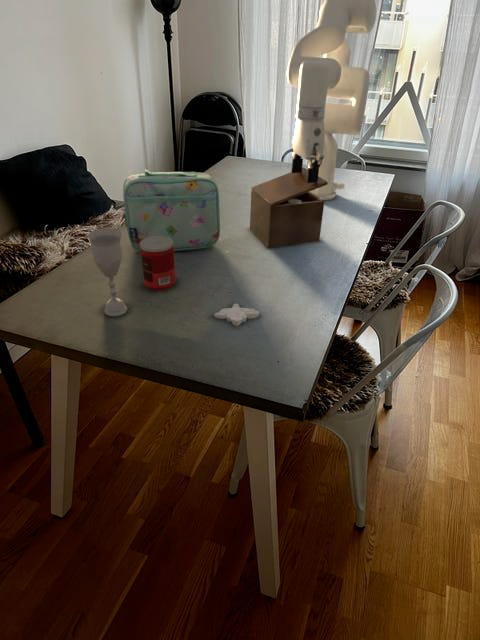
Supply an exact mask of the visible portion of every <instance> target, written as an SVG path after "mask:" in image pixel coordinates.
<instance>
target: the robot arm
mask: <svg viewBox="0 0 480 640" xmlns="http://www.w3.org/2000/svg"><path fill="white" fill-rule="evenodd" d="M377 11H378V10H377V4H376V1H375V0H324V1H323V3H322V4H321V6H320V8H319V15H318V21H317V24H316V27H315V28H313V29H312V30H310V31H309V32H308V33H306V34H305V35H304V36H302V37H301V38H300V39H299V40H298V41H297V42H296V44H295V45H294V47H293V49H292V51H291V55H290V57H289V61H288V65H287V70H286V77H287V78H286V79H287V82H288V84H289V85H290V86H292V87H294V88H298V91H297V103H296V113H295V119H296V121H295V126H294V133H293V139H292V140H291V153H292V154H291V158H292V161H291V171H290V172H292V173H301V172H302V168H303V164H304V159H305V160H306V161H307V162H308V168H307V170H308V172H307V183H315V182H317V181H318V176H319V177H320V178H322V179H324V180H325V181H327V183H328V184H327V185H325V186H322V187H320V188H317V189H315V190H312V191H310V192H312V193H313V194H315V195H316V196H317V197H319V198H320V199H322V200H323V201H328V200H329V201H330V200H332V199H335V198H336V196H337V192H336V191H337V190H344V189H345V184H344V183H338V182H334V179H335V173H336V164H337V157H338V150H339V146H338V145H339V144H338V142H337V140H336V138H335V137H334V134H337V135H347V136H355V135H358V134H359V133H360V132H361V131H362V128H363V125H364V124H363V123H364V119H365V113H366V106H367V100H368V94H369V87H370V73H369V71H368V70H367V69H366V68H363V67H359V66H358V67H355V66H350V60H351V55H352V49H351V45H350V44H349V42H348V40H347V38H346V34H361V35H362V34H369V33H370V32H372V31H373V29H374V27H375V24H376V21H377V13H378V12H377ZM321 56H323V57H321ZM327 99H339V100H350V101H351V102H352V103H344V102H332V101H327Z"/></svg>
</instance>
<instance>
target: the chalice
mask: <svg viewBox="0 0 480 640" xmlns="http://www.w3.org/2000/svg"><path fill="white" fill-rule="evenodd" d="M122 235H123V234H122V232H121V231H120V230H119V229H116V228H99V229H95V230H93V231H91V232H89V233H88V235H87V240H88V241H89V242H90V246H91V253H92V259H93V261H94V263H95V265H96V266H97V268H98V270H99V271H100V272H101V273H102V275H103V276H104V277H106V278H108V283H107V285H108V286H109V290H108V293H109V294H110V295H111V298H109V299H107V301H106V303H105V307H104V310H103V311H104V312H103V313H104V314H105V315H107V316H110V317H118V316H121V315H124V314H126V312H127V311H128V307H127V305H126V304H125V303H124V301H123V299H121V298H119V297H117V292H118V290H117V289H116V288H115V286H116V282H115V279H114V277H116V276H117V274H118V272H119V270H120V266H121V264H122V258H123V253H122V245H121V238H122Z"/></svg>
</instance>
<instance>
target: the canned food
mask: <svg viewBox="0 0 480 640" xmlns="http://www.w3.org/2000/svg"><path fill="white" fill-rule="evenodd" d="M139 253H140V261H141V270H142V278H143V279H142V280H143V284H144V286H145V287H146V288H147V289H149V290H151V291H165V290H168V289H171V288H172V287H173V286H174V285H175V283H176V280H177V279H176V265H175V264H176V261H175V251H174V245H173V240H172V239H171V238H169V237H165V236H152V237H148V238H145V239H143V240H142V241H141V242H140V252H139Z"/></svg>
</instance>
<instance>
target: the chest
mask: <svg viewBox="0 0 480 640" xmlns="http://www.w3.org/2000/svg"><path fill="white" fill-rule="evenodd" d="M292 199H298V200H301V202H302V203H293V204H288V200H287V201H284V202H282V203H279V204H277V205H274V206H270V205H269V204H267V203H266V202H265V201H264V200H263V199H262V198H260V197H259V196H258V195H257V194H256V193H255V192H253V191H252V190H250V214H249V215H250V217H249V230H250V231H251V232H252V233H253V234H254V235H255V236H256V237H257V239H258V240H259V241H260V242H261V243H262V244H263V245H264V246H265V247H266V248H267V249H272V248H279V247H287V246H294V245H301V244H308V243H317V242H320V240H321V231H322V223H323V215H324V207H325V200H322V199H320V198H319V197H317V196H316V195H315V194H313V193H312V192H307V193H304V194H302V195H299V196H297V197H294V198H292ZM289 200H290V199H289Z"/></svg>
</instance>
